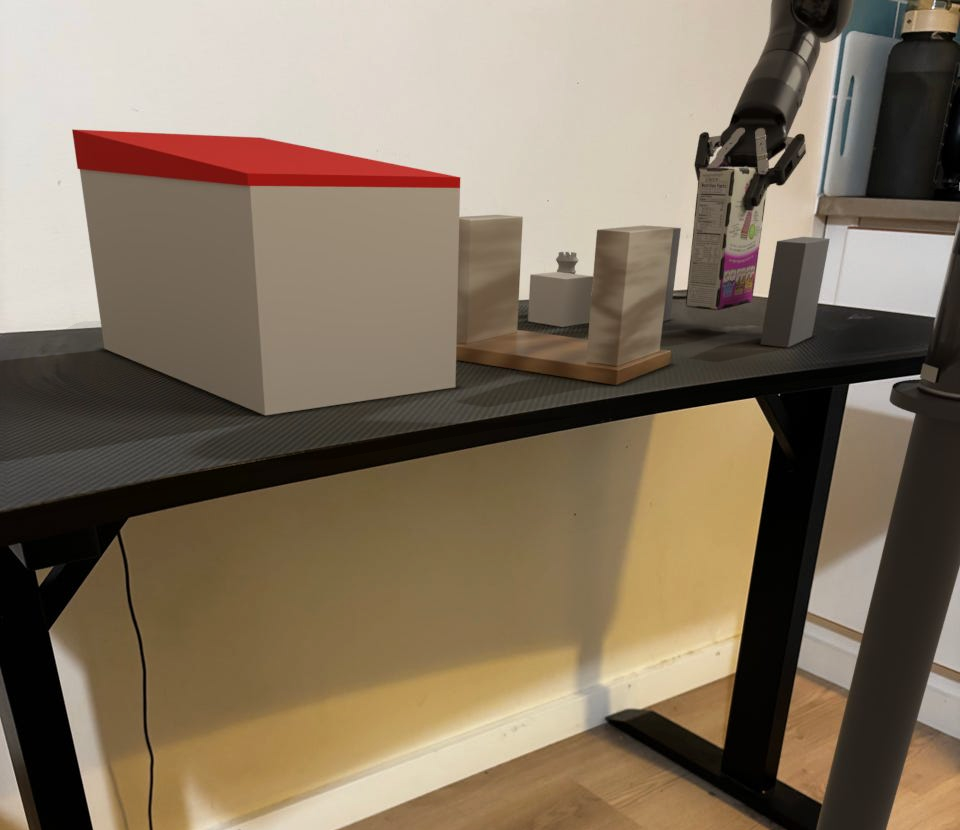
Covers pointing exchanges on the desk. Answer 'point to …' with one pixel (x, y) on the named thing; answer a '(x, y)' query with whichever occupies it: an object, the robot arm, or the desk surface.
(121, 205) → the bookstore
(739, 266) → the candy bar box
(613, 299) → the shelf
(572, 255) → the rook chess piece
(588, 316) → the cream cube
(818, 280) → the grey books
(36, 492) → the desk surface
